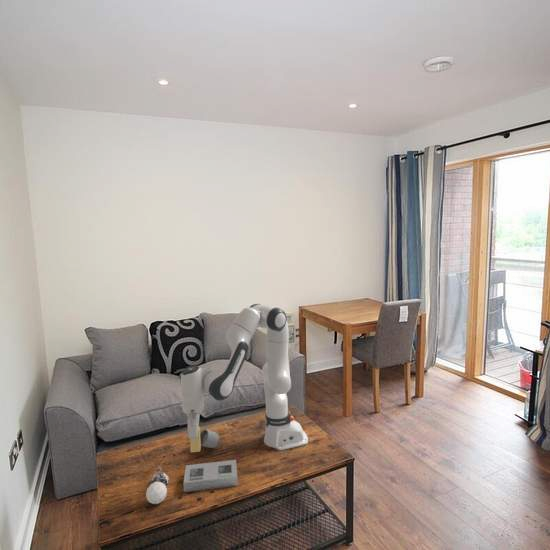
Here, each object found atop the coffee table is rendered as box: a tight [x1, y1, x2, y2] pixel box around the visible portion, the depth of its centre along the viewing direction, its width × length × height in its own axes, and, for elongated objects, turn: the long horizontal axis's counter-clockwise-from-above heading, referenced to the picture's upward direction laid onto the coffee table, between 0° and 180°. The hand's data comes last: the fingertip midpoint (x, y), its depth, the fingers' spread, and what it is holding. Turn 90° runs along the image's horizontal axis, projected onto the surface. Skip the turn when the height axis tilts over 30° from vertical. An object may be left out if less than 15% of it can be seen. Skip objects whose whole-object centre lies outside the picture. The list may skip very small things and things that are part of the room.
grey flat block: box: [183, 459, 239, 493], centre depth 162 cm, size 22×12×4 cm, turn 99°
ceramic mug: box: [200, 428, 220, 449], centre depth 187 cm, size 11×8×8 cm
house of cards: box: [150, 465, 170, 485], centre depth 158 cm, size 9×9×8 cm
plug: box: [186, 426, 202, 453], centre depth 159 cm, size 5×4×9 cm
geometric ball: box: [145, 482, 168, 505], centre depth 149 cm, size 8×8×8 cm
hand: (195, 436), depth 159 cm, fingers closed on plug, 4 cm apart
